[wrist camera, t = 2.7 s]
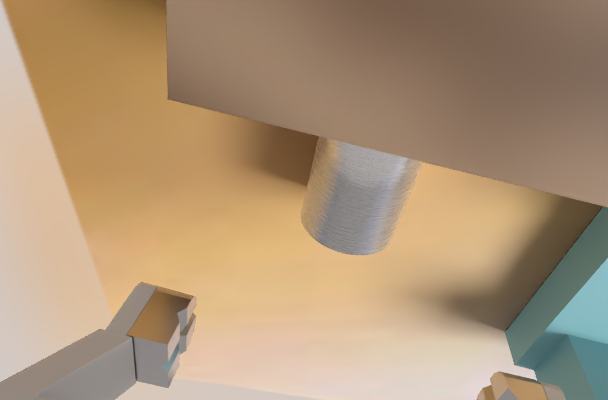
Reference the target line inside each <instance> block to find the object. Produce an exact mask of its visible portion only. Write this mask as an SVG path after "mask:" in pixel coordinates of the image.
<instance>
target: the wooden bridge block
mask: <svg viewBox="0 0 608 400" xmlns="http://www.w3.org/2000/svg"><path fill="white" fill-rule="evenodd" d="M166 8H167V80H168V99H169V100H173V101H177V102H181V103H185V104H189V105H193V106H197V107H201V108H205V109H209V110H214V111H218V112H222V113H226V114H230V115H234V116H238V117H242V118H246V119H250V120H254V121H258V122H262V123H266V124H271V125H275V126H279V127H283V128H287V129H291V130H295V131H299V132H303V133H307V134H311V135H315V136H319V137H323V138H328V139H332V140H336V141H340V142H344V143H348V144H352V145H356V146H360V147H364V148H368V149H372V150H376V151H381V152H385V153H389V154H393V155H397V156H401V157H405V158H409V159H413V160H417V161H421V162H425V163H429V164H433V165H438V166H442V167H446V168H450V169H454V170H458V171H462V172H466V173H470V174H474V175H478V176H482V177H486V178H490V179H495V180H499V181H503V182H507V183H511V184H515V185H519V186H523V187H527V188H531V189H535V190H539V191H543V192H547V193H552V194H556V195H560V196H564V197H568V198H572V199H576V200H580V201H584V202H588V203H592V204H596V205H600V206H604V207H608V0H166Z"/></svg>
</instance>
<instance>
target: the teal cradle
mask: <svg viewBox="0 0 608 400" xmlns="http://www.w3.org/2000/svg"><path fill="white" fill-rule="evenodd" d="M505 334H506V337H507V341H508V344H509V347H510V351H511V354H512V358H513V361H514V365H517V366H520V367H524V368H528V369H532V370H534V371H535V374H536V377H537V380H538V381H540V382H544V383H548V384H552V385H556V386H558V387H559V388H560V389H561V390H562V392H563V394H564V396H565V399H566V400H608V207H604V206H603V207H602V209H601V210H600V211H599V213H598V214H597V215H596V216H595V218H594V219H593V220H592V222H591V223H590V224H589V225H588V227H587V228H586V229H585V231H584V232H583V233H582V234H581V236H580V237H579V238H578V239H577V241H576V242H575V243H574V245H573V246H572V247H571V248H570V250H569V251H568V252H567V254H566V255H565V256H564V257H563V259H562V260H561V261H560V263H559V264H558V265H557V266H556V268H555V269H554V270H553V272H552V273H551V274H550V275H549V277H548V278H547V279H546V281H545V282H544V283H543V284H542V286H541V287H540V288H539V289H538V291H537V292H536V293H535V295H534V296H533V297H532V298H531V300H530V301H529V302H528V304H527V305H526V306H525V307H524V309H523V310H522V311H521V313H520V314H519V315H518V316H517V318H516V319H515V320H514V322H513V323H512V324H511V325H510V327H509V328H508V329H507V330H506V332H505Z"/></svg>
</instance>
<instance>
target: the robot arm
mask: <svg viewBox="0 0 608 400" xmlns="http://www.w3.org/2000/svg"><path fill="white" fill-rule="evenodd" d="M195 307H196V297H195V296H192V295H188V294H184V293H181V292H177V291H174V290H170V289H166V288H163V287H159V286H155V285H151V284H147V283H144V282H141V283H140V284H138V285H137V286H136V287H135V288H134V290H133V291H132V293H131V294H130V296H129V297H128V298H127V300H126V301H125V303H124V304H123V306H122V307H121V308H120V310H119V311H118V313H117V314H116V316H115V317H114V318H113V320H112V321H111V323H110V324H109V326H108V327H107V329H106V330H102V329H99V330H97V331H95V332H93V333H91V334H89V335H88V336H86V337H84V338H82V339H80V340H78V341H77V342H74V343H73V344H71V345H69V346H67V347H65V348H63V349H61V350H60V351H58V352H56V353H54V354H52V355H50V356H48V357H47V358H45V359H43V360H41V361H39V362H37V363H35V364H33V365H31V366H30V367H28V368H26V369H24V370H22V371H20V372H18V373H16V374H15V375H13V376H11V377H9V378H7V379H5V380H3V381H2V382H0V400H115V399H116V398H117V397H118V396H120V395H121V394H123V393H124V392H125V391H126V390H128V389H129V388H130V387H132V386H133V385H134V384H135V383H136V381H139V382H144V383H148V384H153V385H157V386H162V387H166V388H168V387H169V386H170V383H171V381H172V379H173V377H174V375H175V373H176V371H177V369H178V367H179V355H180V354H181V353H183V352H184V351H186V349H187V347H188V345H189V343H190V340H191V337H192V334H193V331H194V327H195V320H196V316H195V315H194V313H193V311H194V309H195ZM490 380H491V384H492V385H490V386H487V387H485V388H483V389H482V390H481V391H480V393H479V394H478V397H477V400H566V399H565V396H564V394H563V392H562V390H561V389H560V388H559V387H558V386H556V385H552V384H548V383H544V382H540V381H536V380H534V379H530V378H525V377H521V376H517V375H512V374H508V373H504V372H500V371H499V372H496V373H494V374H493V376H492V377H491V378H490Z"/></svg>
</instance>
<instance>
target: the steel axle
mask: <svg viewBox="0 0 608 400" xmlns="http://www.w3.org/2000/svg"><path fill="white" fill-rule="evenodd" d="M422 164H423V162H421V161H417V160H413V159H409V158H405V157H401V156H397V155H393V154H389V153H385V152H381V151H376V150H372V149H368V148H364V147H360V146H356V145H352V144H348V143H344V142H340V141H336V140H332V139H328V138H323V137H318V141H317V146H316V150H315V154H314V159H313V163H312V167H311V172H310V176H309V180H308V185H307V189H306V194H305V198H304V202H303V207H302V211H301V220H302V223H303V226H304V227H305V229H306V231H307V232H308V233H309V234H310V235H311V236H312V237H313V238H314V239H315V240H316V241H318V242H319V243H321V244H322V245H324V246H326V247H328V248H330V249H332V250H335V251H338V252H341V253H345V254H351V255H369V254H373V253H376V252H379V251H381V250H383V249H384V248H385V247H387V245H388V244H389V243H390V241H391V239H392V236H393V234H394V231H395V229H396V227H397V224H398V222H399V219H400V217H401V215H402V212H403V210H404V207H405V205H406V203H407V200H408V198H409V195H410V193H411V191H412V188H413V186H414V183H415V181H416V179H417V176H418V174H419V172H420V169H421V167H422Z"/></svg>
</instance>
